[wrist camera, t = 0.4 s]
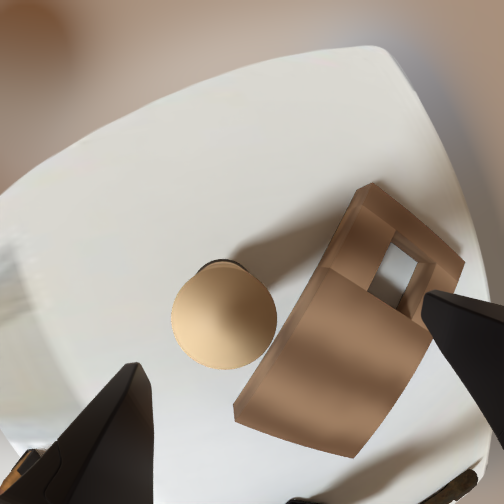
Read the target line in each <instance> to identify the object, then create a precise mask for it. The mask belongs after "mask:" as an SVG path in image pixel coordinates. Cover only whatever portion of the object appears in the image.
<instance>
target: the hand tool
mask: <svg viewBox="0 0 504 504" xmlns="http://www.w3.org/2000/svg"><path fill="white" fill-rule="evenodd" d="M477 482H478V477H477V474H476V472H475V471H473V470H472V469H469V470H467V471H466V472H464V473H462V474H461V475H459V476H458V477H456V478H455V479H454V480H452V481H450V482H449V483H448V484H447V486H446V487H445V489H443V490H442V491H441V492H439V493H438V494H436V495H435V496H433V497H432V498H430V499H429V500H428V501H426V502H425V503H423V504H449V503H451V502H452V501H453V500H455V501H458V500H459V499H460V498H462V497H463V496H464V495H465V494H467V493H468V492H470V491H471V490H472V489H473V488H474V487H475V486H476V485H477Z"/></svg>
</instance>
